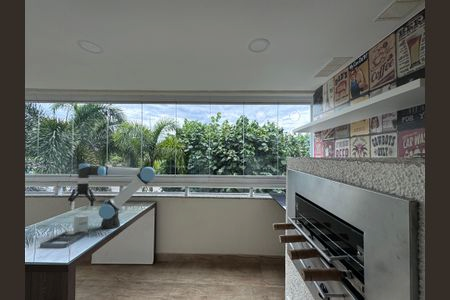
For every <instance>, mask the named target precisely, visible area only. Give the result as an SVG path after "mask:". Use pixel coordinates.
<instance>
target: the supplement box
mask: <svg viewBox="0 0 450 300" xmlns="http://www.w3.org/2000/svg"><path fill="white" fill-rule="evenodd" d="M88 225H89V215H85V214H82V215H75V216H74V217H73V229H72V231H79V232H88Z"/></svg>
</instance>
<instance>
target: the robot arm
mask: <svg viewBox="0 0 450 300" xmlns="http://www.w3.org/2000/svg"><path fill="white" fill-rule="evenodd" d="M77 170H78V171H77V172H78V173H77V174H78V175H77V187H76V188H72V192H71V194H70V196H69V197H68V198H67V201H69V202H70V203H69V204H70V206H71V208H70V210H71V211H74V210H75V200H76V199H77V198H78V197H79V196H85V197H87V199H88V201H89V202H88V204H89V205H88V211H89V212H90V211H92V210H93V209H92V208H93V206H94V202H95V201H97V200H96V197H95V195H94V193H93V188H91V189H89V182H90V180H89V179H90V176H91V177H93V176H94V177H103V176H115V177H116V176H118V177H133V178H134V177H135V178H134V179H133V180H132V181H131V182H130V183H129V184H127V186H125V187H124V188H123V189H122V190H121V191H120V192H119V193H117V194H116V195H115V196H114V197H113V198H109V199H105V200H104V201H103V204H102V205H101V206H100V207H99V209H98V215H99V217H100V218H101V219H102V221H101V224H100V228H101V229H104V230H106V229H107V230H108V229H109V230H111V229H117V228H119V227H121V221H120V218H119V211H120V210H121V209H122V205H123V204H125V203H126V202H127V201H128V200H129V199H130V198H132V196H133V195H134V194H136V193H137V192H138V191H140V189H141V188H142V187H143V186H147V185H148V184H149V183H151V181H153V180H154V179H155V177H156V175H157V174H156V173H157V172H156V169H155V168H153V167H152V166H145V167H144V166H143V167H142V166H140V167H122V166H105V165H100V166H99V165H98V166H91V165H90V163H79V164H78V169H77Z"/></svg>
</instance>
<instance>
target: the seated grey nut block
mask: <svg viewBox="0 0 450 300" xmlns="http://www.w3.org/2000/svg"><path fill="white" fill-rule="evenodd" d="M78 236H79V235H78V231H73V230H70V232H67V233H65V236H64V237H78Z"/></svg>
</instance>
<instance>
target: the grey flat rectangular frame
mask: <svg viewBox="0 0 450 300" xmlns="http://www.w3.org/2000/svg"><path fill="white" fill-rule="evenodd" d="M70 231H71V230H70ZM70 231H68V230H67V231H64V232H62V233H59V234H58V235H55V236H53V237H52V238H49V239H47V240H45V241H43V242H41V243H40V244H39V248H43V249H44V248H45V249H46V248H47V249H48V248H50V249H51V248H52V249H53V248H54V249H57V248H58V249H60V248H61V249H62V248H63V249H66V248H68V247H70V246H71V245H73V244H75V243H76V242H78V241H80V240H81V239H83V238H85V237H87V236H88V235H89V231H87V232H79V231H78V237H65V233H67V232H70ZM56 242H57V243H56ZM58 242H59V243H58ZM62 242H63V243H62Z"/></svg>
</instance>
